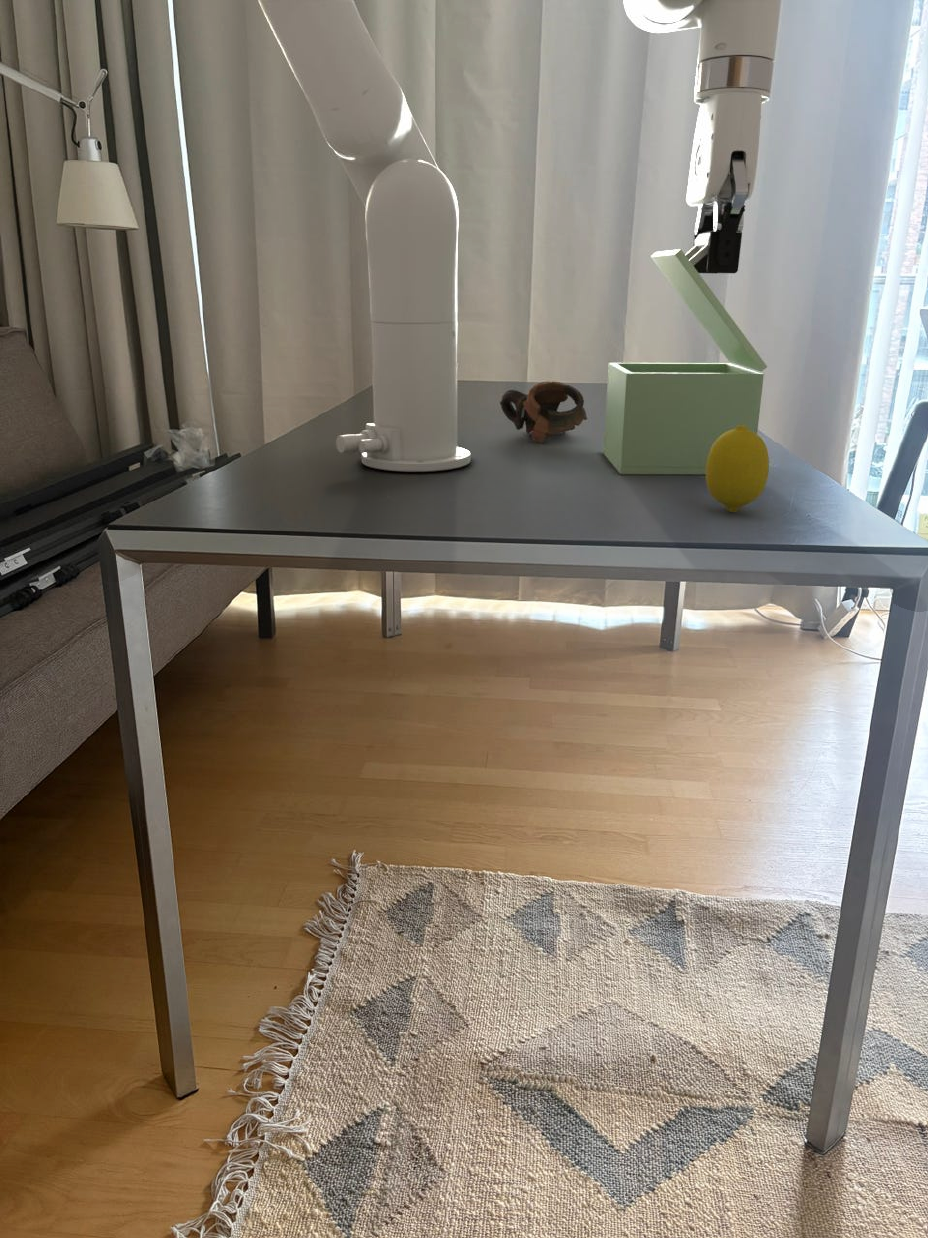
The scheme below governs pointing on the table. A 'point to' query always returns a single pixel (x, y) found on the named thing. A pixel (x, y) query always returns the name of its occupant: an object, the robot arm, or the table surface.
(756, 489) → the lemon
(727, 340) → the lid
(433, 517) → the table surface
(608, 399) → the chest
